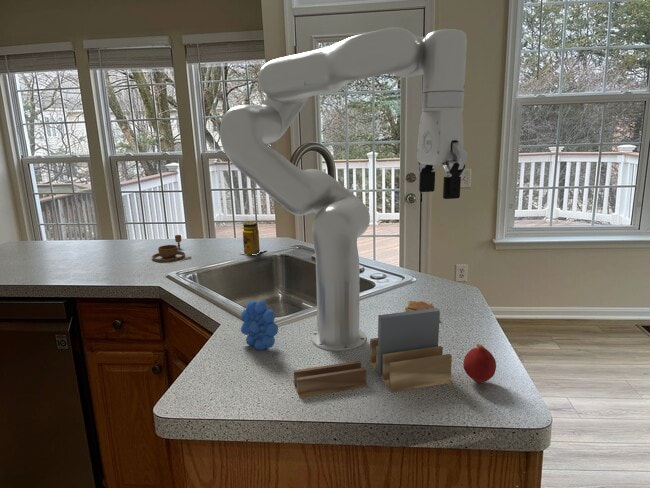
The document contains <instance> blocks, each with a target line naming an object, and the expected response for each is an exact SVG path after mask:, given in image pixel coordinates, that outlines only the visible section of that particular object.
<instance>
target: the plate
mask: <svg viewBox="0 0 650 488" xmlns="http://www.w3.org/2000/svg"><path fill="white" fill-rule="evenodd" d="M440 313H441V310H440V309H438V308H436V307H434V308H433V309H425V310H417V311H408V312H406V311H401V312H395V313H386V314H378V315H377V316H378V317H377V318H378V319H377V320H378V321H377V325H378V326H377V338H378V373H377V374H378V375H379V377H380V376H382V374H383V354H388V353H395V352H401V351H408V350H415V349H422V348H429V347H436V346H439V337H440V336H439V333H440V315H441V314H440Z"/></svg>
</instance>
